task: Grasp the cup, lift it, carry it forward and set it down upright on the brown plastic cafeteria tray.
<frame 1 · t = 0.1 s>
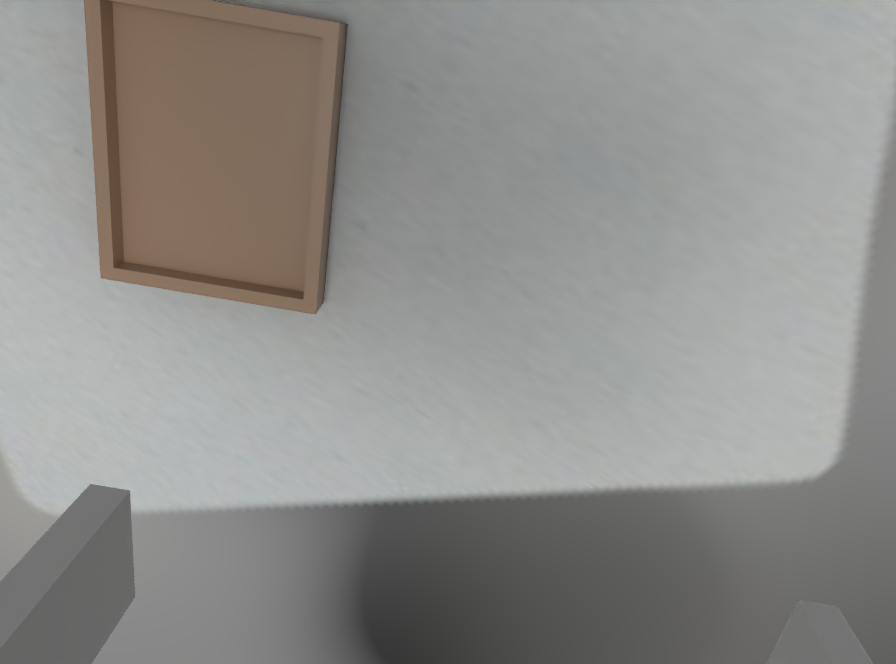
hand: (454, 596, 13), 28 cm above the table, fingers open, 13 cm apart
tray: (223, 156, 37), on the table
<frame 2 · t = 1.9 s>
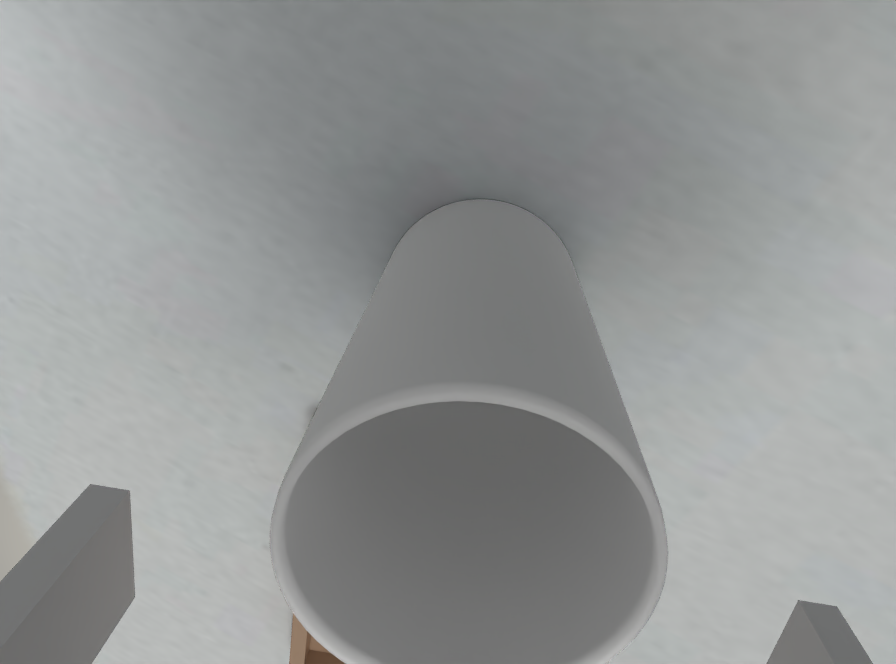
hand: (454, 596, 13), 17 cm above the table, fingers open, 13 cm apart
cup: (479, 292, 28), on the table
tray: (429, 558, 34), on the table
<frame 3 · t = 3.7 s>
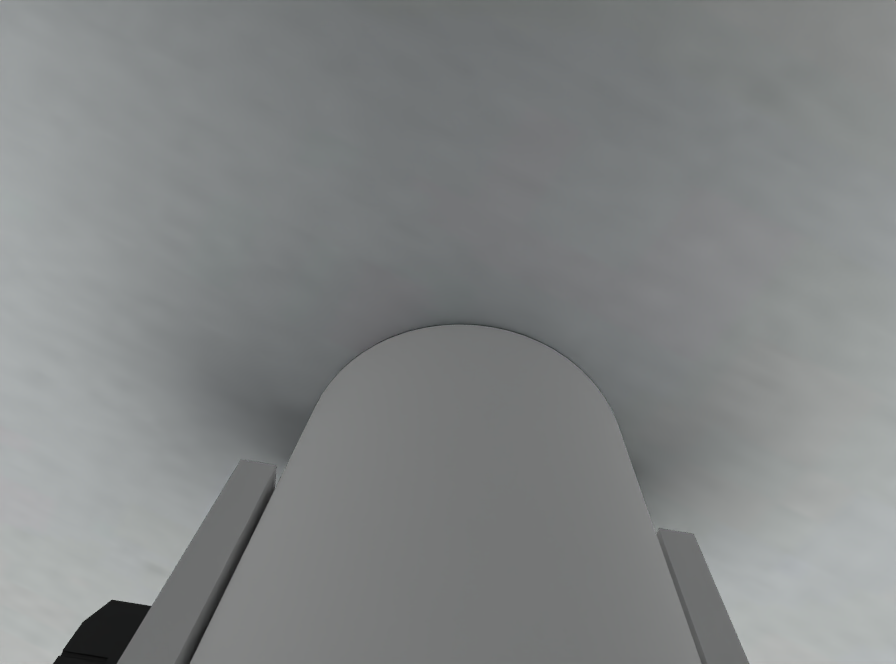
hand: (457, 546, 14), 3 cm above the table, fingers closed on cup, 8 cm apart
cup: (462, 465, 17), on the table, touching gripper
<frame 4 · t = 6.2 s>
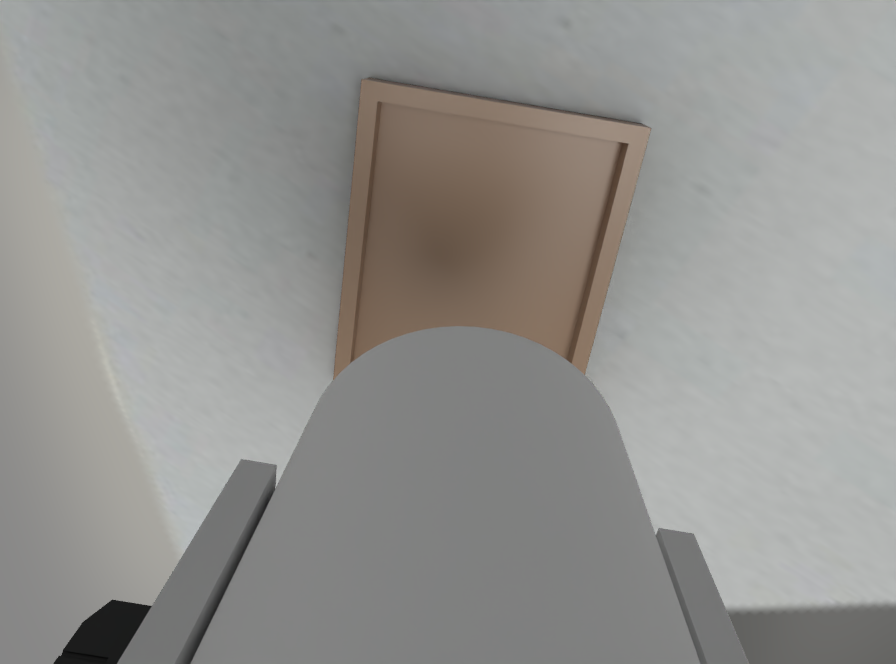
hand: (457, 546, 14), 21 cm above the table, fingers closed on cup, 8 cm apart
cup: (462, 467, 17), point 18 cm above the table, touching gripper
tray: (476, 261, 34), on the table
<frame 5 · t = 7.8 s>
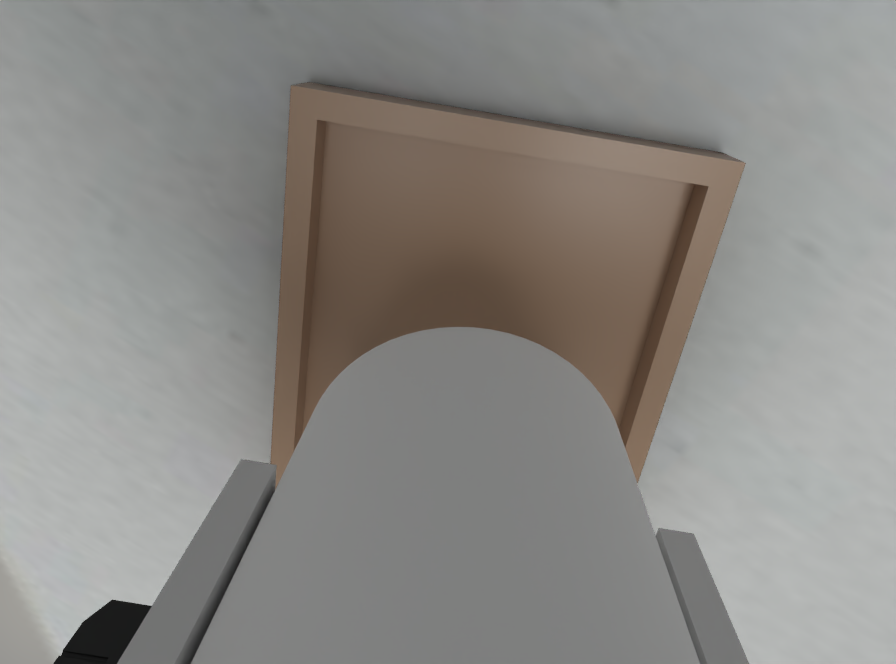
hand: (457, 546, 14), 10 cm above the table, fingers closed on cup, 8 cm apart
cup: (462, 468, 17), point 7 cm above the table, touching gripper
tray: (472, 347, 23), on the table
when the fingers open (5 cm above the table, at t = 9.1 s): cup drops 2 cm, resting on tray.
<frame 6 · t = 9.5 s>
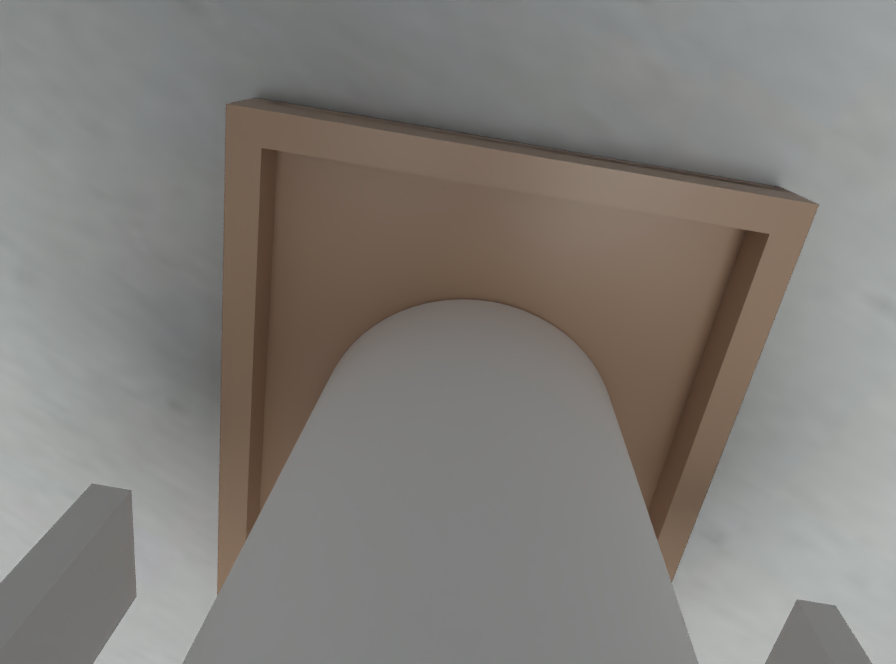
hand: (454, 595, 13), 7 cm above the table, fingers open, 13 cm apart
cup: (465, 431, 18), point 1 cm above the table, touching tray
tray: (465, 420, 19), on the table
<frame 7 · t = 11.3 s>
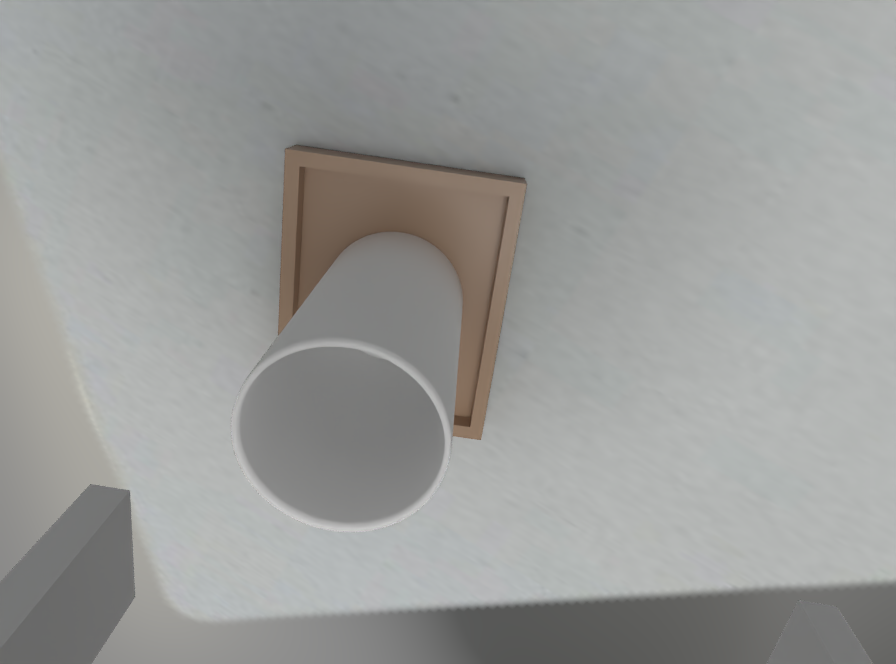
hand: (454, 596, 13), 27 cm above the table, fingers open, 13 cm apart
cup: (394, 298, 39), point 1 cm above the table, touching tray
tray: (395, 295, 39), on the table
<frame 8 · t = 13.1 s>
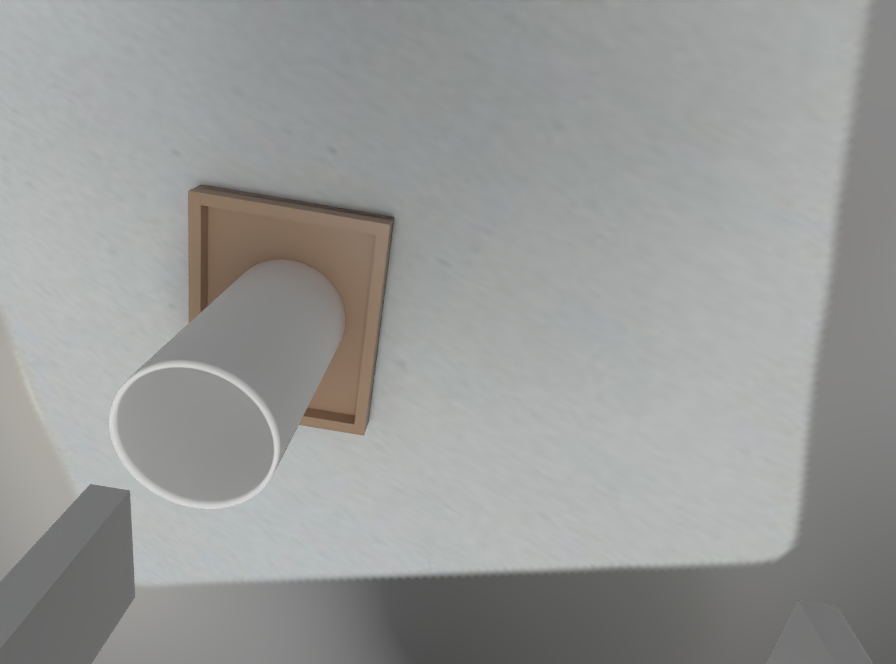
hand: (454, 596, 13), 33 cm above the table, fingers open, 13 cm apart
cup: (288, 314, 46), point 1 cm above the table, touching tray
tray: (290, 311, 46), on the table
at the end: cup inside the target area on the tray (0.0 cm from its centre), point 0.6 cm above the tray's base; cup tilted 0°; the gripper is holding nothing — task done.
